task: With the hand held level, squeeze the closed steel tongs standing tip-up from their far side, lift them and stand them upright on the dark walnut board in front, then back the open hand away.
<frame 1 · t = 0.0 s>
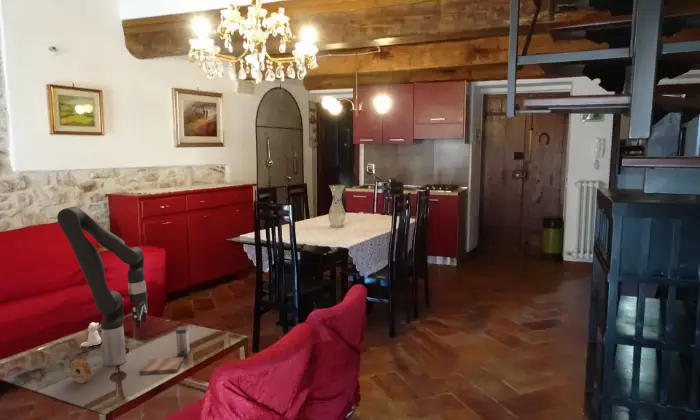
hand: (141, 324, 236), 17 cm above the table, fingers open, 8 cm apart
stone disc: (82, 382, 218), on the table
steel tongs: (183, 354, 245), on the table
walnut board: (162, 367, 230), on the table
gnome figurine: (93, 345, 261), on the table
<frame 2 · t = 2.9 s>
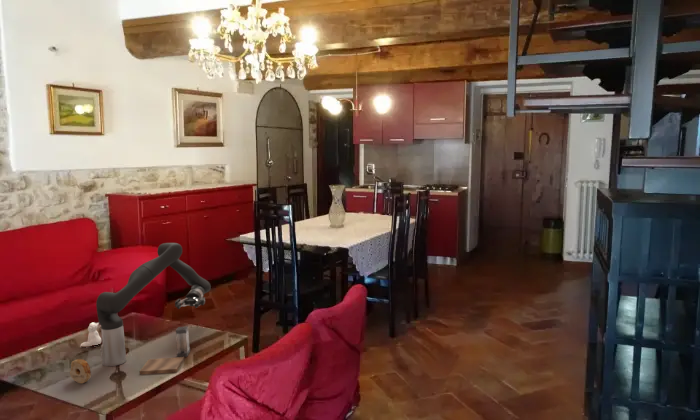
hand: (187, 306, 254), 20 cm above the table, fingers open, 8 cm apart
nothing on the table moved.
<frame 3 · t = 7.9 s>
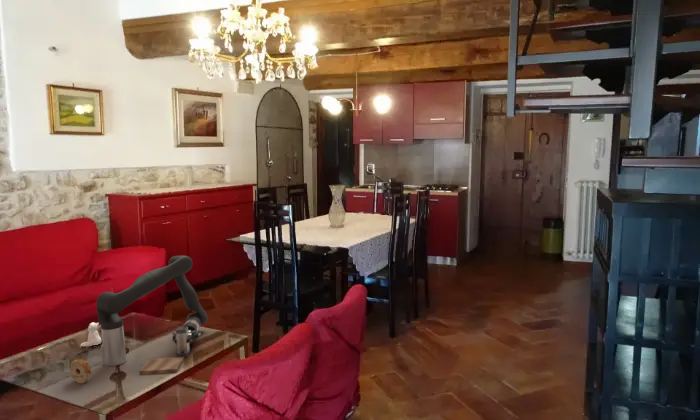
hand: (181, 341, 242), 7 cm above the table, fingers closed on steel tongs, 4 cm apart
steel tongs: (183, 354, 245), on the table, touching gripper
everything else where it was.
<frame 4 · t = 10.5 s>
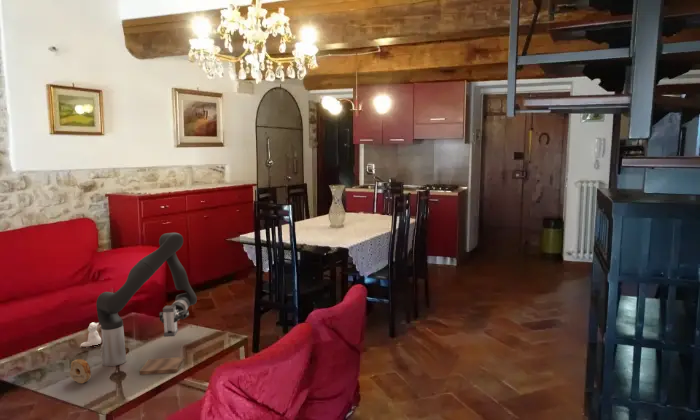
hand: (168, 320, 233), 20 cm above the table, fingers closed on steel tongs, 4 cm apart
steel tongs: (171, 333, 236), point 13 cm above the table, touching gripper
everything else where it was.
when the fingers open (9 cm above the table, at t = 13.5 s): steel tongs stays where it is, resting on walnut board.
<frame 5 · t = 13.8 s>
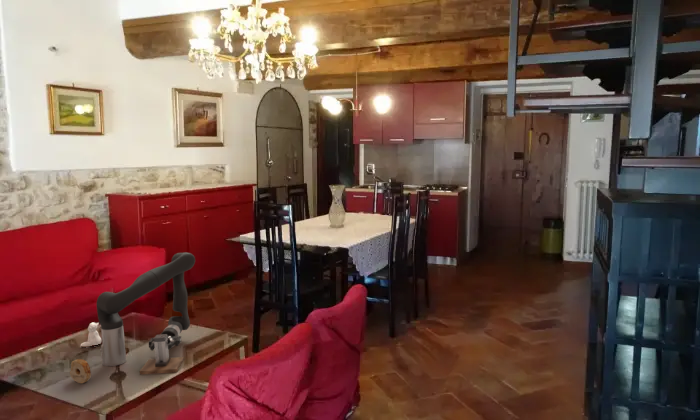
hand: (160, 347, 228), 9 cm above the table, fingers open, 7 cm apart
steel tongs: (162, 363, 231), point 1 cm above the table, touching walnut board
everything else where it was.
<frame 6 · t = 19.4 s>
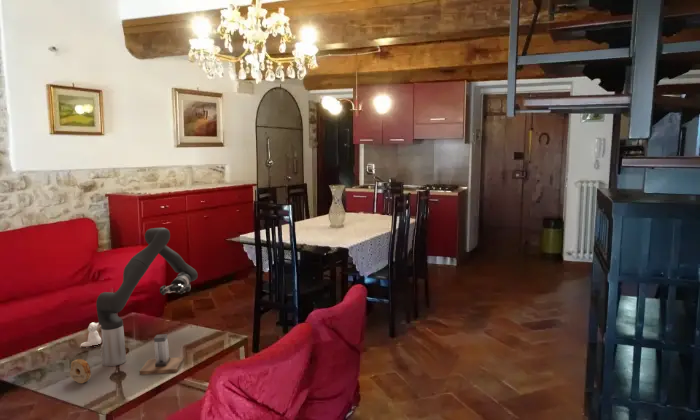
hand: (171, 292, 250), 28 cm above the table, fingers open, 8 cm apart
nothing on the table moved.
at the end: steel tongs inside the target area on the walnut board (0.6 cm from its centre), point 1.5 cm above the walnut board's base; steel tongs tilted 0°; the gripper is holding nothing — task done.
